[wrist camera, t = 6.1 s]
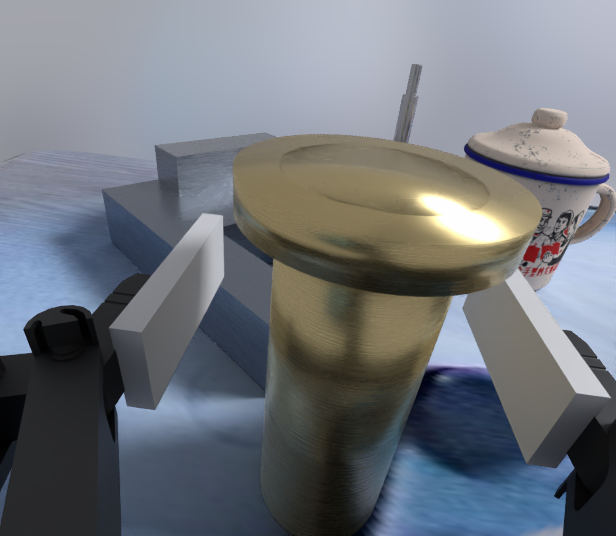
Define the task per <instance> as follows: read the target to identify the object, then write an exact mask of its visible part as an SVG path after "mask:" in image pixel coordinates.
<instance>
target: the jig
mask: <svg viewBox="0 0 616 536" xmlns="http://www.w3.org/2000/svg"><path fill="white" fill-rule="evenodd" d="M272 138H278V137H275V136H273V135H270V134H267V133H258V134H250V135H241V136H232V137H224V138H215V139H206V140H198V141H188V142H180V143H172V144H162V145H155V152H156V161H157V170H158V179H159V180H153V181H148V182H142V183H136V184H131V185H125V186H119V187H113V188H108V189H102V193H103V199H104V204H105V209H106V214H107V219H108V224H109V229H110V234H111V239H112V242H113V243H114V244H115V245H116V246H117V247H118V248H119V249H120V250H121V251H122V252H123V253H124V254H125V255H126V256H127V257H128V258H129V259H130V260H131V261H132V262H133V263H134V264H135V265H136V266H137V267H138V268H139V269H140V270H141V271H143V272H144V273H145V274H147V275H153V273H154V272H155V271H156V270H157V268H158V267H159V266H160V265H161V264H162V262H163V261H164V260H165V259H166V257H167V256H168V255H169V254H170V253H171V251H172V250H173V249H174V248H175V246H176V245H177V244H178V243H179V242H180V240H181V239H182V238H183V237H184V235H185V234H186V233H187V232H188V231H189V229H190V228H191V227H192V226H193V224H194V223H195V222H196V221H197V220H198V218H199V217H200V216H201V215H202V213H207V214H215V215H222V216H223V243H224V278H223V280H222V282H221V284H220V285H219V287H218V289H217V291H216V293H215V295H214V297H213V299H212V301H211V303H210V305H209V307H208V309H207V311H206V313H205V314H204V316H203V318H202V320H201V322H200V324H199V327H200V328H201V329H202V330H203V331H204V332H205V333H206V334H207V335H208V336H209V337H210V338H212V339H213V340H214V341H215V342H216V343H217V344H218V345H219V346H220V347H221V348H222V349H223V350H224V351H225V352H226V353H227V354H228V355H229V356H230V357H231V358H232V359H233V360H234V361H235V362H236V363H237V364H238V365H239V366H240V367H241V368H242V369H243V370H244V371H246V372H247V373H248V374H249V375H250V376H251V377H252V378H253V379H254V380H255V381H256V382H257V383H258V384H259V385H260V386H261V387H262V388H263V389H264V390H265V389H266V373H267V356H268V340H269V323H270V307H271V290H272V273H273V267H271V266H270V265H268V264H271V263H273V258H272V257H270V256H269V255H267V254H265V253H264V252H263V251H261V250H260V249H259V248H257V247H256V246H255V245H253V244H252V243H251V242H250V241H249V240H248V239H247V238H246V237H245V236H244V235H243V233H242V232H241V230H240V229H239V228H238V226H237V224H236V221H235V219H234V215H233V161H234V159H235V157H236V155H237V154H238V153H239V152H240V151H241V150H243V149H244V148H246V147H248V146H250V145H252V144H254V143H257V142H260V141H264V140H268V139H272Z"/></svg>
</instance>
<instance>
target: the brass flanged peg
mask: <svg viewBox="0 0 616 536" xmlns="http://www.w3.org/2000/svg"><path fill="white" fill-rule="evenodd" d="M233 215H234V219H235V221H236V224H237V226H238V228H239V229H240V230H241V232H242V233H243V235H244V236H245V237H246V238H247V239H248V240H249V241H250V242H251V243H252V244H253V245H255V246H256V247H257V248H259V249H260V250H261V251H263V252H264V253H265V254H267V255H269V256H270V257H272V258H273V273H272V290H271V307H270V323H269V340H268V356H267V373H266V389H265V406H264V422H263V439H262V456H261V472H260V485H261V491H262V496H263V499H264V502H265V504H266V506H267V508H268V510H269V512H270V513H271V515H272V516H273V518H274V519H275V520H276V521H277V522H278V523H279V524H280V525H281V526H282V527H283V528H284V529H285V530H287V531H288V532H290V533H291V534H293V535H294V536H351V535H353V534H354V533H355V532H357V531H358V530H359V529H360V528H361V527H362V526H363V525H364V524H365V523H366V521H367V520H368V519H369V517H370V515H371V513H372V511H373V509H374V506H375V504H376V501H377V498H378V496H379V493H380V490H381V488H382V485H383V482H384V480H385V477H386V474H387V472H388V469H389V466H390V464H391V461H392V458H393V456H394V453H395V450H396V448H397V445H398V442H399V440H400V437H401V434H402V432H403V429H404V426H405V424H406V421H407V418H408V416H409V413H410V410H411V408H412V405H413V402H414V400H415V397H416V394H417V392H418V389H419V386H420V384H421V381H422V378H423V376H424V373H425V370H426V368H427V365H428V362H429V360H430V357H431V354H432V352H433V349H434V346H435V344H436V341H437V338H438V336H439V333H440V330H441V328H442V325H443V322H444V320H445V317H446V315H447V312H448V309H449V307H450V304H451V301H452V299H453V296H455V295H462V294H470V293H473V292H477V291H481V290H485V289H488V288H491V287H493V286H495V285H498V284H500V283H502V282H503V281H505V280H506V279H508V278H509V277H511V276H512V275H513V274H514V272H515V271H516V270H517V269H518V267H519V265H520V263H521V261H522V259H523V256H524V254H525V252H526V250H527V248H528V246H529V243H530V241H531V239H532V237H533V235H534V233H535V231H536V228H537V226H538V224H539V222H540V220H541V217H542V207H541V205H540V203H539V201H538V199H537V198H536V197H535V196H534V195H533V194H532V193H531V192H530V191H529V190H528V189H527V188H525V187H524V186H523V185H521V184H520V183H518V182H517V181H515V180H514V179H512V178H510V177H508V176H506V175H504V174H503V173H500V172H498V171H496V170H494V169H492V168H490V167H487V166H485V165H482V164H480V163H477V162H474V161H472V160H469V159H466V158H463V157H460V156H457V155H453V154H450V153H446V152H442V151H439V150H435V149H431V148H427V147H423V146H418V145H414V144H409V143H403V142H398V141H392V140H385V139H379V138H370V137H361V136H349V135H328V134H326V135H325V134H317V135H315V134H313V135H312V134H311V135H294V136H285V137H278V138H272V139H268V140H264V141H260V142H257V143H254V144H252V145H250V146H248V147H246V148H244V149H243V150H241V151H240V152H239V153H238V154H237V155H236V157H235V159H234V161H233Z"/></svg>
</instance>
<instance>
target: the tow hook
mask: <svg viewBox="0 0 616 536" xmlns="http://www.w3.org/2000/svg"><path fill="white" fill-rule="evenodd" d="M421 70H422V65H418V64H412V67H411V72H410V76H409V81H408V86H407V91H406V94H404V95H403V97H402V101H401V106H400V111H399V116H398V121H397V126H396V131H395V136H394V140H393V141H398V142H403V143H408V141H409V137H410V132H411V127H412V123H413V119H414V115H415V110H416V106H417V101H418V96H416V93H417V88H418V84H419V79H420V74H421Z"/></svg>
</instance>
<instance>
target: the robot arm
mask: <svg viewBox="0 0 616 536" xmlns="http://www.w3.org/2000/svg"><path fill="white" fill-rule="evenodd" d="M223 278H224V243H223V216H222V215H215V214H207V213H202V215H201V216H200V217H199V218H198V220H197V221H196V222H195V223H194V224H193V226H192V227H191V228H190V229H189V231H188V232H187V233H186V234H185V235H184V237H183V238H182V239H181V240H180V242H179V243H178V244H177V245H176V246H175V248H174V249H173V250H172V251H171V253H170V254H169V255H168V256H167V257H166V259H165V260H164V261H163V262H162V264H161V265H160V266H159V267H158V268H157V270H156V271H155V272H154V273H153V275H147V274H139V273H136V274H135V275H133V276H131V277H129V278H127V279H126V280H124V281H122V282H121V283H120V284H119V285H118V287H117V288H116V289H115V290H114V291H113V294H110V295H109V296H108V297H107V299H106V300H105V302H104V303H102V304H101V305H100V306H99V307H98V308H97V309H96V311H95V312H94V313H93V314H92V315H91V312H90V311H89V310H87V309H86V308H84V307H80V306H75V305H68V306H59V307H55V308H51V309H48V310H46V311H43V312H41V313H39V314H37V315H36V316H34V317H33V318H32V319H31V320H29V321H28V322H27V324H26V326H25V327H24V329H23V330H24V333H25V335H26V338H27V340H28V343H29V345H30V348H31V350H32V353H27V354H17V355H6V356H0V491H1V489H2V487H3V485H4V483H5V480H6V478H7V476H8V474H9V472H10V470H11V468H12V470H11V475H10V480H9V485H8V490H7V495H6V500H5V505H4V510H3V515H2V520H1V525H0V536H121V509H120V479H119V448H118V417H117V411H116V407H115V405H116V404H117V402H118V400H119V399H120V397H121V396H122V394H123V392H124V395H125V399H126V404H127V406H130V407H137V408H144V409H151V410H155V409H156V407H157V405H158V404H159V402H160V400H161V398H162V396H163V394H164V392H165V390H166V388H167V386H168V384H169V382H170V380H171V378H172V376H173V375H174V373H175V371H176V369H177V367H178V365H179V363H180V361H181V359H182V357H183V355H184V353H185V351H186V349H187V347H188V345H189V344H190V342H191V340H192V338H193V336H194V334H195V332H196V330H197V328H198V326H199V324H200V322H201V320H202V318H203V316H204V314H205V313H206V311H207V309H208V307H209V305H210V303H211V301H212V299H213V297H214V295H215V293H216V291H217V289H218V287H219V285H220V284H221V282H222V280H223ZM462 309H463V311H464V313H465V316H466V318H467V321H468V323H469V326H470V328H471V330H472V333H473V335H474V338H475V340H476V342H477V345H478V347H479V350H480V352H481V355H482V357H483V359H484V362H485V364H486V367H487V369H488V372H489V374H490V376H491V379H492V381H493V384H494V386H495V389H496V391H497V393H498V396H499V398H500V401H501V403H502V405H503V408H504V410H505V413H506V415H507V418H508V420H509V422H510V425H511V427H512V430H513V432H514V435H515V437H516V439H517V442H518V444H519V447H520V449H521V452H522V454H523V456H524V459H525V461H526V464H530V465H537V466H544V467H551V468H557V467H558V465H559V464H560V463H561V461H562V460H563V459H564V458H565V456H566V455H567V454H568V456H569V458H570V460H571V462H572V464H573V466H574V468H575V469H574V470H573V471H572V472H571V473H570V475H569V476H568V477H567V478H566V479H565V481H564V482H563V483H562V484H561V486H560V487H559V488H558V489H557V491H556V493H555V495H554V496H555V497H556V498H558V499H559V498H560V497H561V496H562V495H563V493H564V492H567V493H566V505H565V517H564V528H563V536H616V381H615V379H614V378H613V377H612V375H611V374H610V373H609V372H608V371H606V368H605V366H604V365H603V364H602V362H601V361H600V360H598V359H597V356H596V355H595V353H594V352H593V351H592V349H591V348H590V347H589V346H588V344H587V343H586V342H584V341H583V340H582V339H581V338H579V337H578V336H577V335H576V334H574V333H573V332H572V331H568V330H562V329H561V328H560V326H559V325H558V323H557V322H556V321H555V319H554V318H553V316H552V315H551V314H550V312H549V311H548V310H547V308H546V307H545V305H544V304H543V303H542V301H541V300H540V298H539V297H538V296H537V294H536V293H535V291H534V290H533V289H532V287H531V286H530V285H529V283H528V282H527V280H526V279H525V278H524V276H523V275H522V273H521V272H520V271H519V269H517V270H516V271H515V272H514V274H513V275H512V276H511V277H509V278H508V279H506V280H505V281H503V282H502V283H500V284H498V285H495V286H493V287H491V288H488V289H485V290H481V291H477V292H473V293H470V294H468V296H467V298H466V301H465V303H464V306H463V308H462Z"/></svg>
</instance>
